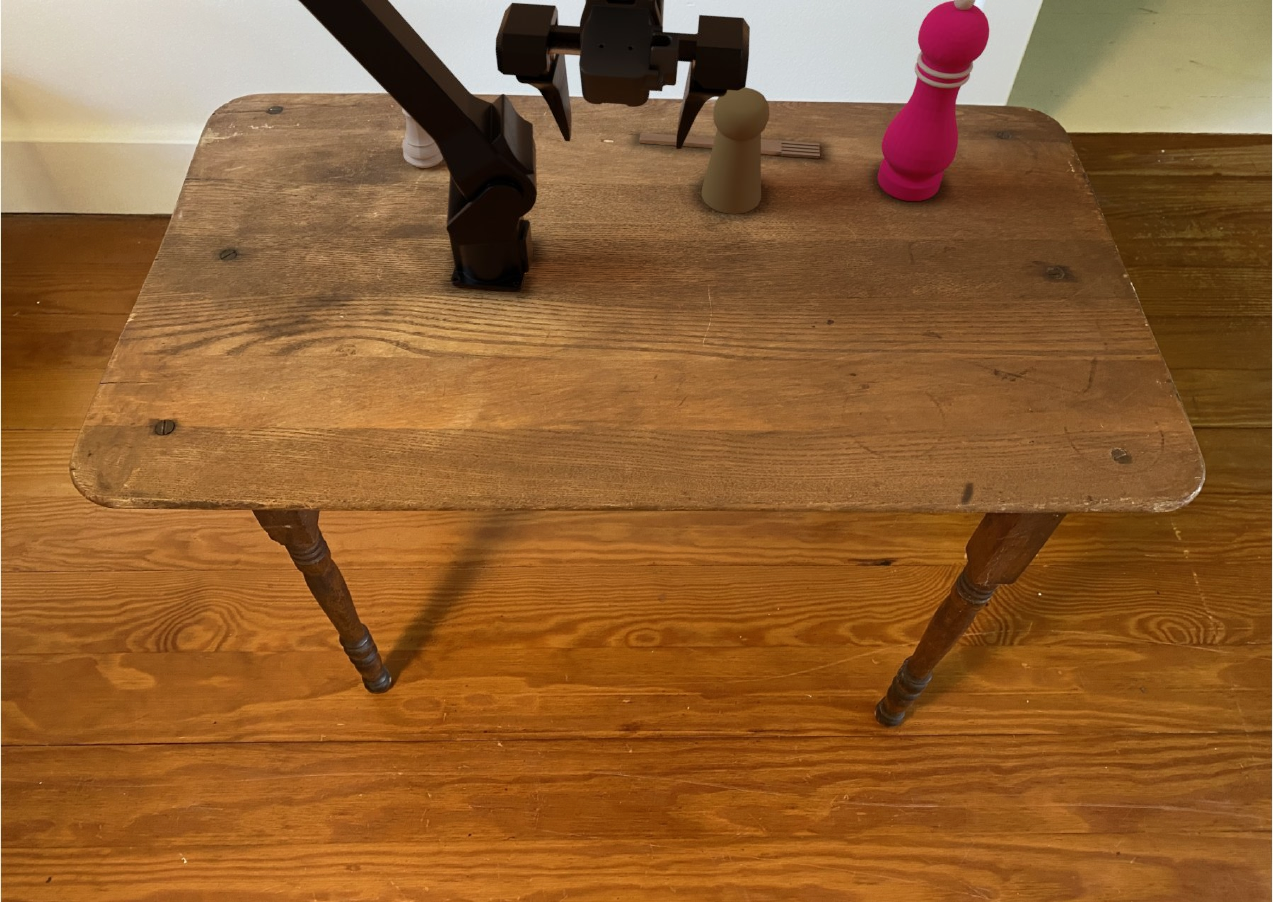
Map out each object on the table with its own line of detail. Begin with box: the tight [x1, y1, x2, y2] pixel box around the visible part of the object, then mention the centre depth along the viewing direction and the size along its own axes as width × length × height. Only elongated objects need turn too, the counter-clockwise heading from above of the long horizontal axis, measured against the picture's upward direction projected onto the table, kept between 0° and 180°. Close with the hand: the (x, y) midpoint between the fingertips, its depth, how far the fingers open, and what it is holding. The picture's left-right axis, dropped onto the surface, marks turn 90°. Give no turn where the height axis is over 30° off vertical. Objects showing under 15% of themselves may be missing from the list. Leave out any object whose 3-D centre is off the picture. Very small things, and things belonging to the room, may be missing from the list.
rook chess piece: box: [401, 107, 444, 169], centre depth 92 cm, size 4×4×8 cm
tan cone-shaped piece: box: [701, 86, 770, 215], centre depth 88 cm, size 6×6×11 cm
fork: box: [639, 132, 821, 160], centre depth 97 cm, size 19×2×1 cm, turn 85°
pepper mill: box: [877, 0, 990, 202], centre depth 86 cm, size 7×7×20 cm
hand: (623, 142), depth 76 cm, fingers open, 9 cm apart
